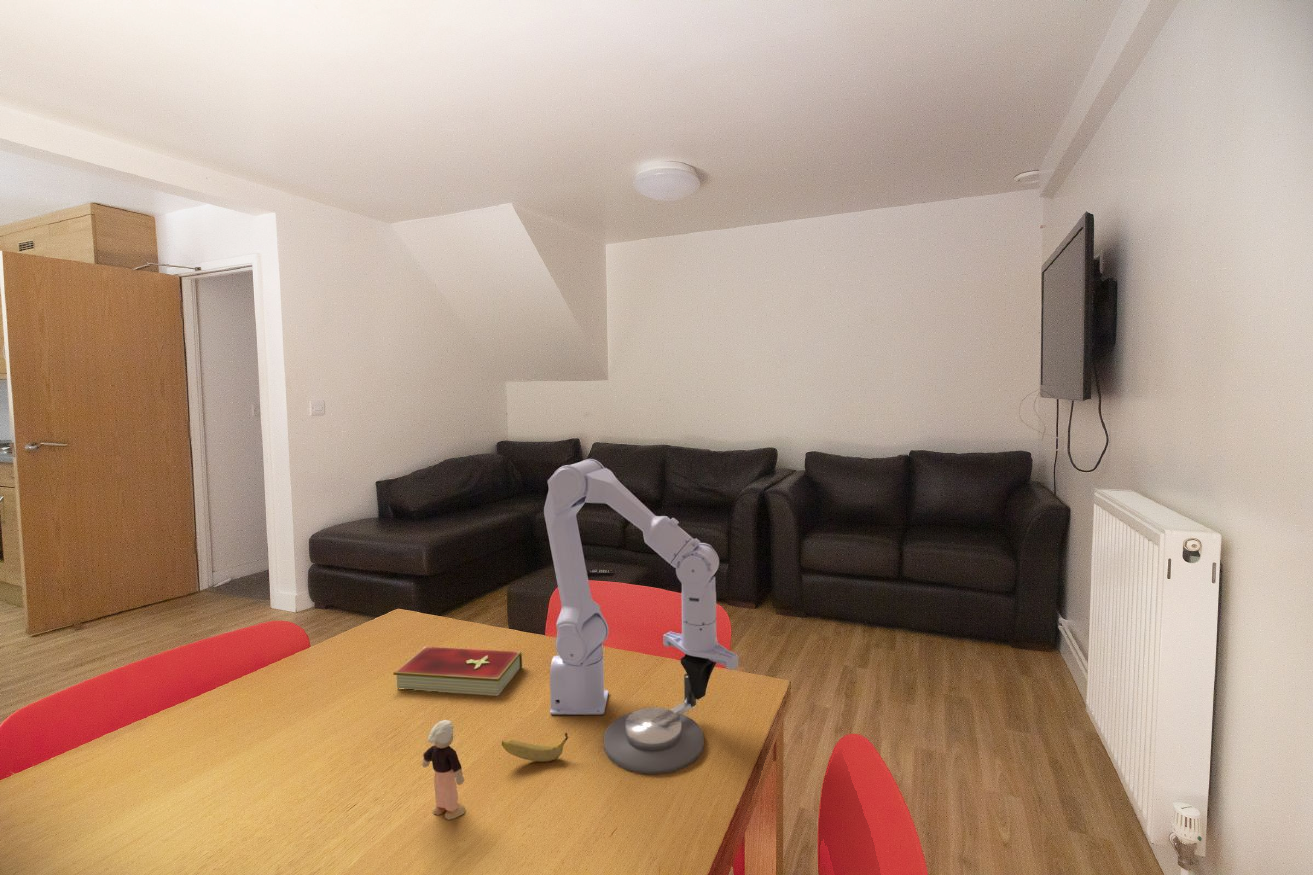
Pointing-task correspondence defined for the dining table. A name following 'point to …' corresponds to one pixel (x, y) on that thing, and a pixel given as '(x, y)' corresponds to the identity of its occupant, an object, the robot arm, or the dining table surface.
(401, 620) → the dining table surface
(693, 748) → the dial base
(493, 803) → the dining table surface
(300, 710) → the dining table surface
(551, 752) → the banana
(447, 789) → the grandmother figurine
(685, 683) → the dial
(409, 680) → the hardcover book
